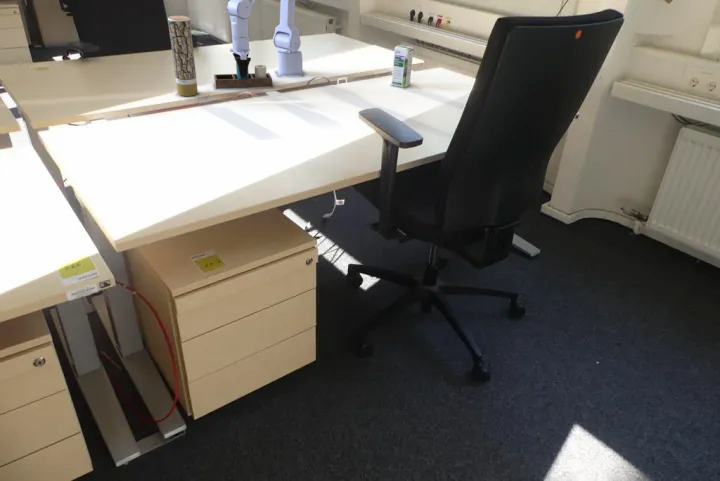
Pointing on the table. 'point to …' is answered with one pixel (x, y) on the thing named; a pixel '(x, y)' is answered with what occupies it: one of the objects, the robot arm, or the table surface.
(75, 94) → the table surface
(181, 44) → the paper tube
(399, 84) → the syrup box
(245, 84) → the rack
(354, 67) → the table surface
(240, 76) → the paper roll
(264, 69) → the roll
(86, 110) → the table surface
